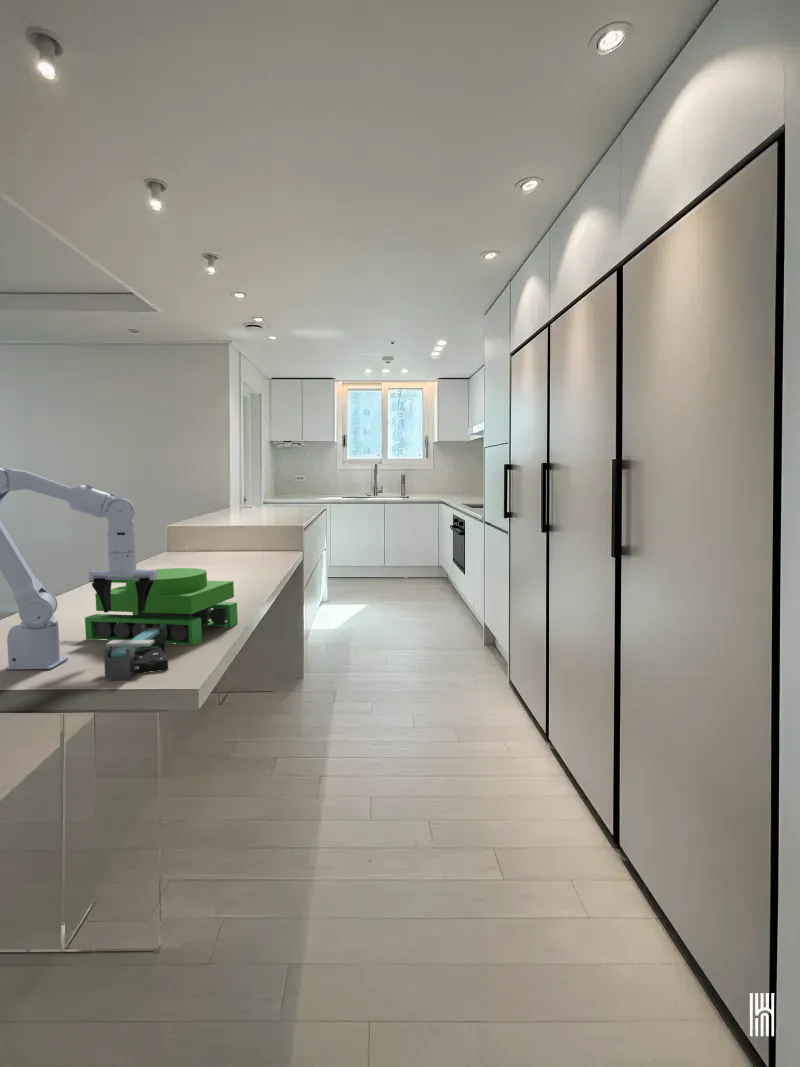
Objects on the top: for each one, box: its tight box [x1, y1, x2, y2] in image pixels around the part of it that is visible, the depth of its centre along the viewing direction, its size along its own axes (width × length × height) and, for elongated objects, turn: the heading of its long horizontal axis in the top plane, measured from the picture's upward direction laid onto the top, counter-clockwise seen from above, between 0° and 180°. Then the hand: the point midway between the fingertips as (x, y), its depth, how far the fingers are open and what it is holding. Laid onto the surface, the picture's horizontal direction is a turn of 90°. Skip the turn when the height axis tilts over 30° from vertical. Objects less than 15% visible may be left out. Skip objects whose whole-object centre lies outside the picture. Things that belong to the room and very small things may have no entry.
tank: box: [84, 567, 239, 646], centre depth 175 cm, size 24×35×16 cm
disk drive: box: [114, 644, 169, 675], centre depth 145 cm, size 10×3×15 cm
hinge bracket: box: [141, 623, 168, 653], centre depth 154 cm, size 5×2×7 cm, turn 91°
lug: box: [103, 646, 136, 681], centre depth 135 cm, size 5×2×6 cm, turn 91°
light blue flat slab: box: [105, 628, 161, 657], centre depth 144 cm, size 9×21×2 cm, turn 1°
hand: (124, 611), depth 150 cm, fingers open, 7 cm apart
